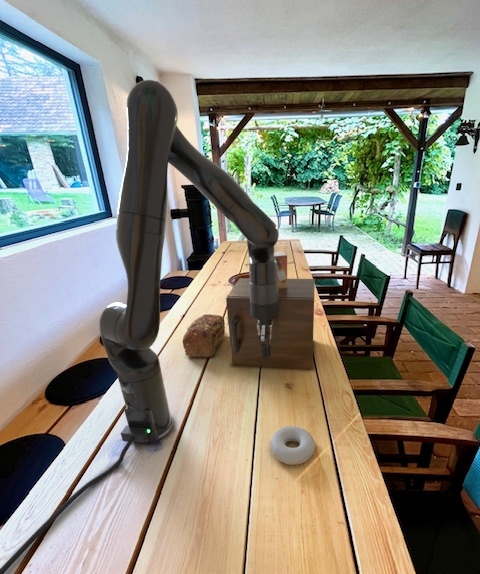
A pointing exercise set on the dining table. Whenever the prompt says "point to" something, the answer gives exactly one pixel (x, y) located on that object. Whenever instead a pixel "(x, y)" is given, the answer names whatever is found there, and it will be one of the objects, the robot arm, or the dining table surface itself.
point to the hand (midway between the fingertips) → (266, 356)
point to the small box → (281, 269)
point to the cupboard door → (273, 334)
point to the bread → (204, 336)
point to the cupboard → (293, 290)
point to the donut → (292, 454)
